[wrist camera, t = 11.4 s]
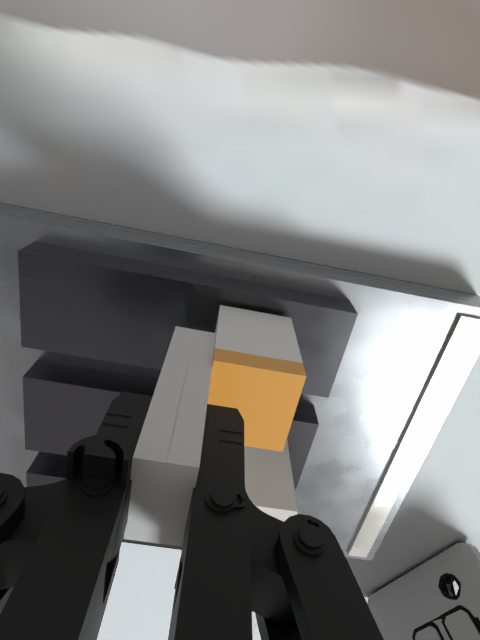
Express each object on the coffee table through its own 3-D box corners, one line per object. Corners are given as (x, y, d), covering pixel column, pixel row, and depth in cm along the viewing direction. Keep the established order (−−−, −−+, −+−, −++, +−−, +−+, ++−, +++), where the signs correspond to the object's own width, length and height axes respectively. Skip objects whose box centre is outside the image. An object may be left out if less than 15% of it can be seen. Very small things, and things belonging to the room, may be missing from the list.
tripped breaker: (207, 370, 18) (198, 438, 14) (219, 304, 17) (213, 360, 13) (273, 381, 18) (282, 451, 14) (291, 317, 17) (306, 376, 13)
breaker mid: (213, 472, 21) (207, 555, 17) (224, 423, 19) (220, 500, 15) (271, 481, 21) (278, 564, 17) (286, 433, 20) (297, 511, 16)
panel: (-58, 473, 26) (-100, 522, 23) (-104, 182, 18) (-177, 194, 15) (363, 533, 28) (378, 584, 25) (477, 295, 21) (520, 326, 17)
